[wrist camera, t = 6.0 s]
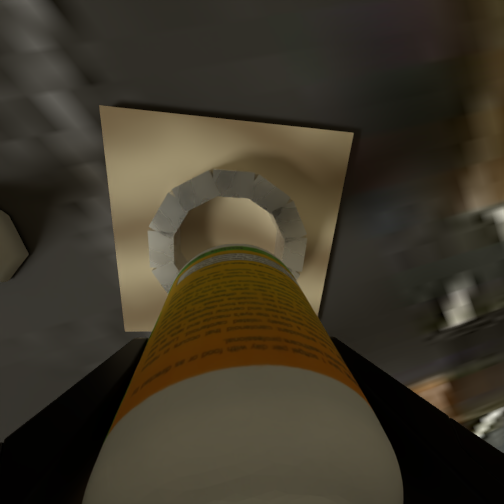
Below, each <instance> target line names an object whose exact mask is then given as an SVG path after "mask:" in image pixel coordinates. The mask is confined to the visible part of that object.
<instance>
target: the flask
mask: <svg viewBox="0 0 504 504" xmlns="http://www.w3.org/2000/svg"><path fill="white" fill-rule="evenodd" d="M28 255H29V253H28V251H27V250H26V248H25V246H24V244H23V242H22V240H21V238H20V236H19V234H18V232H17V230H16V228H15V226H14V224H13V222H12V221H11V219H10V217H9V215H7V214H6V213H4V212H3V211H1V210H0V283H1V282H6V281H9V280H10V278H11V277H12V276H13V274H14V273H15V272H16V270H17V269H18V268H19V267H20V265H21V264H22V263H23V261H24V260H25V259H26V258H27V256H28Z"/></svg>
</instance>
